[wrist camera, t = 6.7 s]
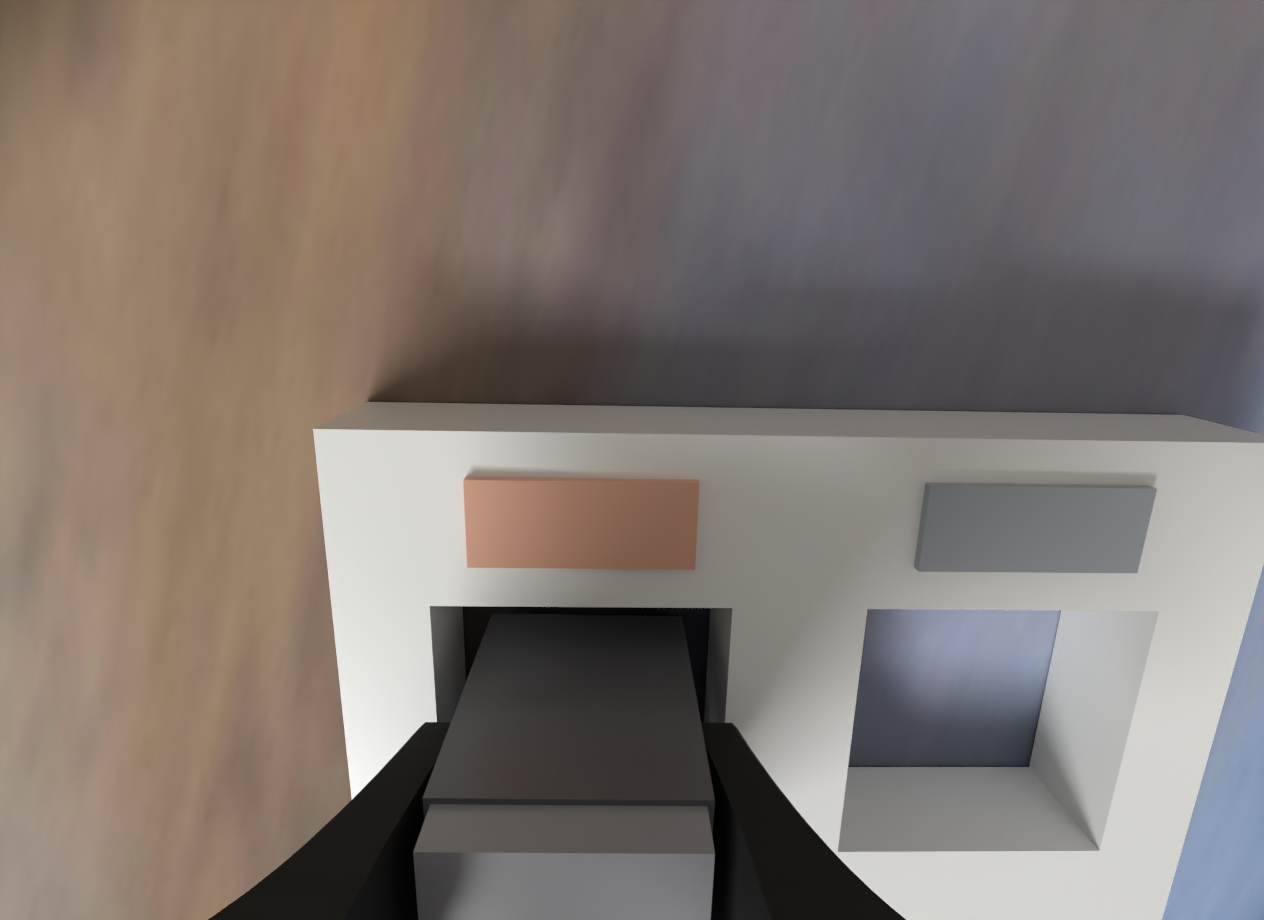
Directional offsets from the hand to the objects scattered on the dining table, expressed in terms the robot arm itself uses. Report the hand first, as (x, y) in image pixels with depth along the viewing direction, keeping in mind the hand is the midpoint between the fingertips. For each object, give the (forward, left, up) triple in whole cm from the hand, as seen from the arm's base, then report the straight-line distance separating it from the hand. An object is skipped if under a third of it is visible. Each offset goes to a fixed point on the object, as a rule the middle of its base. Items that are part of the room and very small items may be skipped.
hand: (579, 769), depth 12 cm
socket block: (-4, 0, -3) cm, 5 cm away
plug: (0, 0, -3) cm, 3 cm away
